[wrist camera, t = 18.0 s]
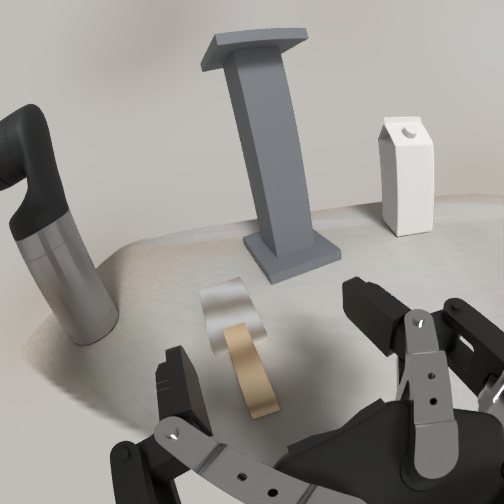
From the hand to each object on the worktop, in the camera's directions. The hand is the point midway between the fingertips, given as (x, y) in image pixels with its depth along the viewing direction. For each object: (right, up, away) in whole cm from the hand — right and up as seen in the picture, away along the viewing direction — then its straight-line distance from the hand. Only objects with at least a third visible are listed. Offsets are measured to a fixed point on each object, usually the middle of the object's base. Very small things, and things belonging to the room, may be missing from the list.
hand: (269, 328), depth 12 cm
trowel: (-2, -6, +17) cm, 18 cm away
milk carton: (+26, +8, +31) cm, 41 cm away
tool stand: (+5, +4, +32) cm, 32 cm away
